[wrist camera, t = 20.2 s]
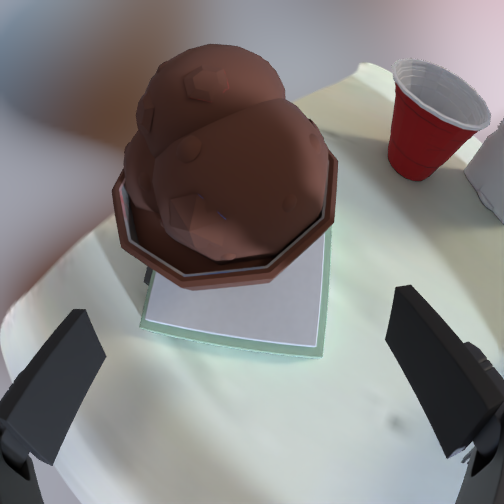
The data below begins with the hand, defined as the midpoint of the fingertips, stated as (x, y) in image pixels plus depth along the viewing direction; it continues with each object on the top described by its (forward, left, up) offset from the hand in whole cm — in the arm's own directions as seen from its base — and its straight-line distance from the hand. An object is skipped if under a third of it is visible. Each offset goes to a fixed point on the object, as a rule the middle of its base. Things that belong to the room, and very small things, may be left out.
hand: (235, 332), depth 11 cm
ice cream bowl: (+2, -7, -8) cm, 11 cm away
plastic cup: (-15, -22, -12) cm, 29 cm away
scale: (+2, -7, -11) cm, 13 cm away
